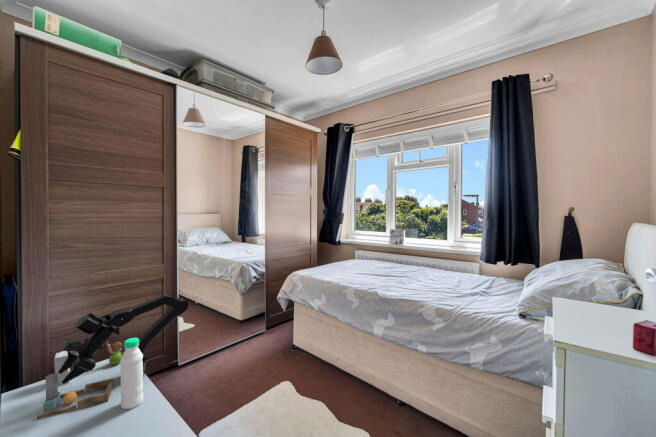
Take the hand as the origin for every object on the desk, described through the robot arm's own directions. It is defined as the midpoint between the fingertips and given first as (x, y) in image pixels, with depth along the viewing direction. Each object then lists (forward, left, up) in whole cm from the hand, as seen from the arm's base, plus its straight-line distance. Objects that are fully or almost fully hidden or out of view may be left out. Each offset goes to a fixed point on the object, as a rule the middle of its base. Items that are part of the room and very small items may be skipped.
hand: (60, 378), depth 105 cm
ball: (-3, +1, -8) cm, 9 cm away
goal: (-5, +1, -10) cm, 11 cm away
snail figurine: (-13, -23, -10) cm, 28 cm away
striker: (+2, +1, -10) cm, 10 cm away
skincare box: (+4, -17, -10) cm, 20 cm away
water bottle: (-24, +12, -10) cm, 28 cm away
